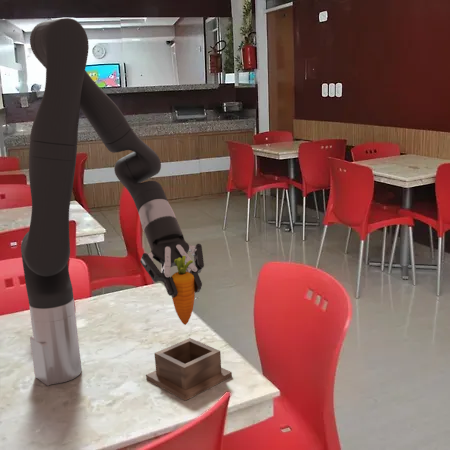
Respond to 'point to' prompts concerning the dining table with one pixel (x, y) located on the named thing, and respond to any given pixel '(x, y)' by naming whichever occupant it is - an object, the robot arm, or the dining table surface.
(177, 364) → the socket block
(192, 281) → the carrot
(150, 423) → the dining table surface
